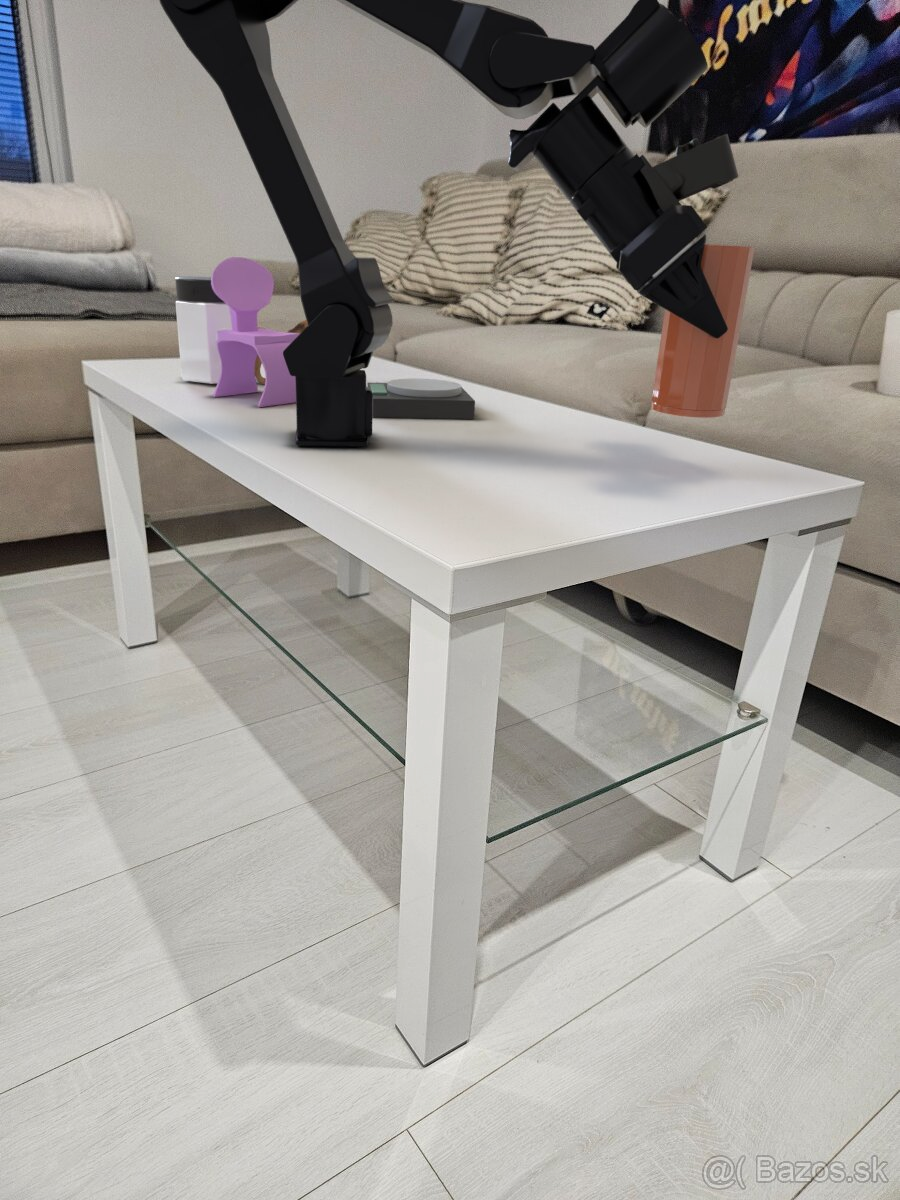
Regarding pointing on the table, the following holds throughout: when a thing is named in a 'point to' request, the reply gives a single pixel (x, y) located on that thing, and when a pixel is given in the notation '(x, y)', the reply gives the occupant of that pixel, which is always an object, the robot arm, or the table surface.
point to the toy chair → (250, 334)
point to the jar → (200, 328)
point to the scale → (421, 399)
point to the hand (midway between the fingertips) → (717, 331)
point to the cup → (703, 342)
